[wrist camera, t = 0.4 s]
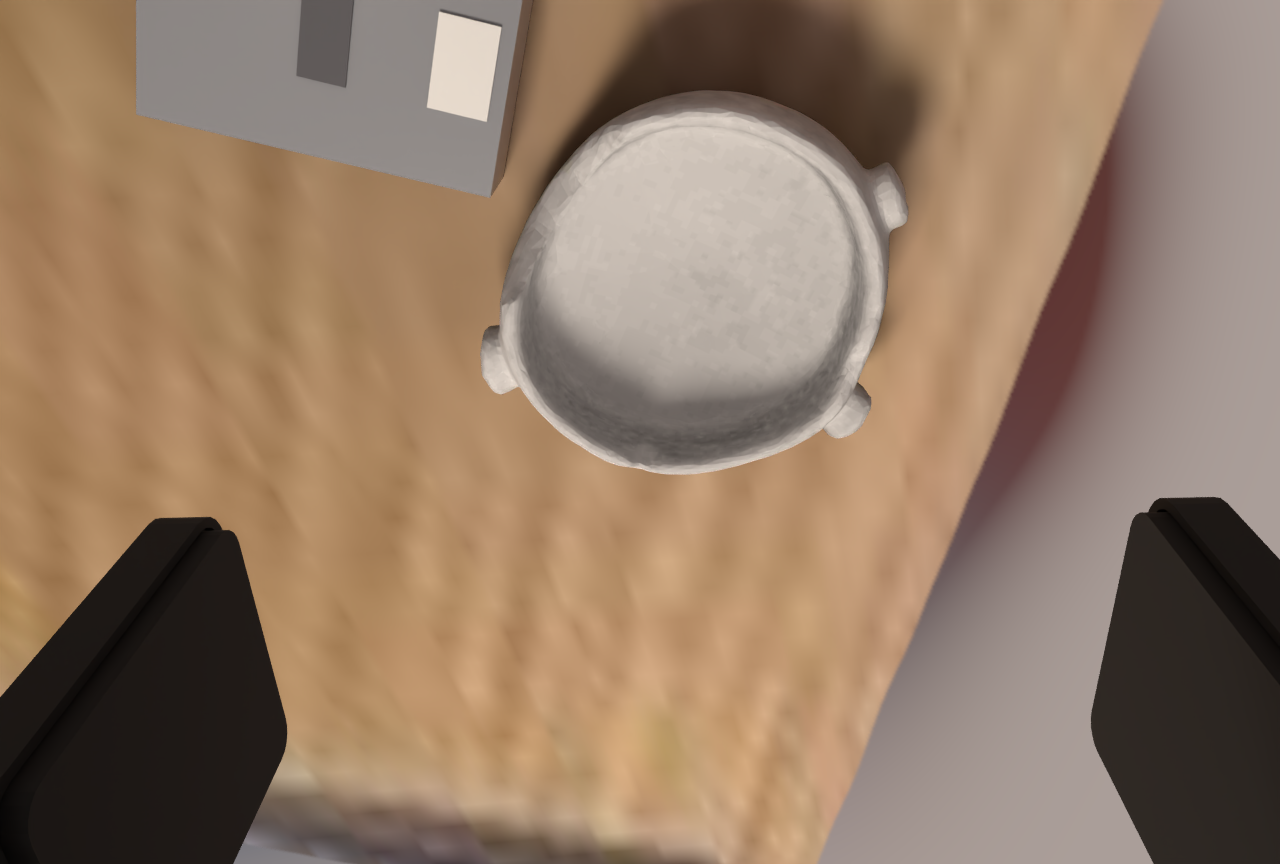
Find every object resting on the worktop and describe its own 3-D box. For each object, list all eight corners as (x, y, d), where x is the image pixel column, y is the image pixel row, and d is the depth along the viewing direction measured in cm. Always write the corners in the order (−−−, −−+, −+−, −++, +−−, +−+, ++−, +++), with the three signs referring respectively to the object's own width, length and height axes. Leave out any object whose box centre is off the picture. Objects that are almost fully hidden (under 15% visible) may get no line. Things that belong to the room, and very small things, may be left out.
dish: (480, 374, 41) (457, 430, 37) (566, 25, 35) (550, 42, 31) (813, 467, 43) (829, 532, 38) (952, 149, 37) (990, 182, 32)
